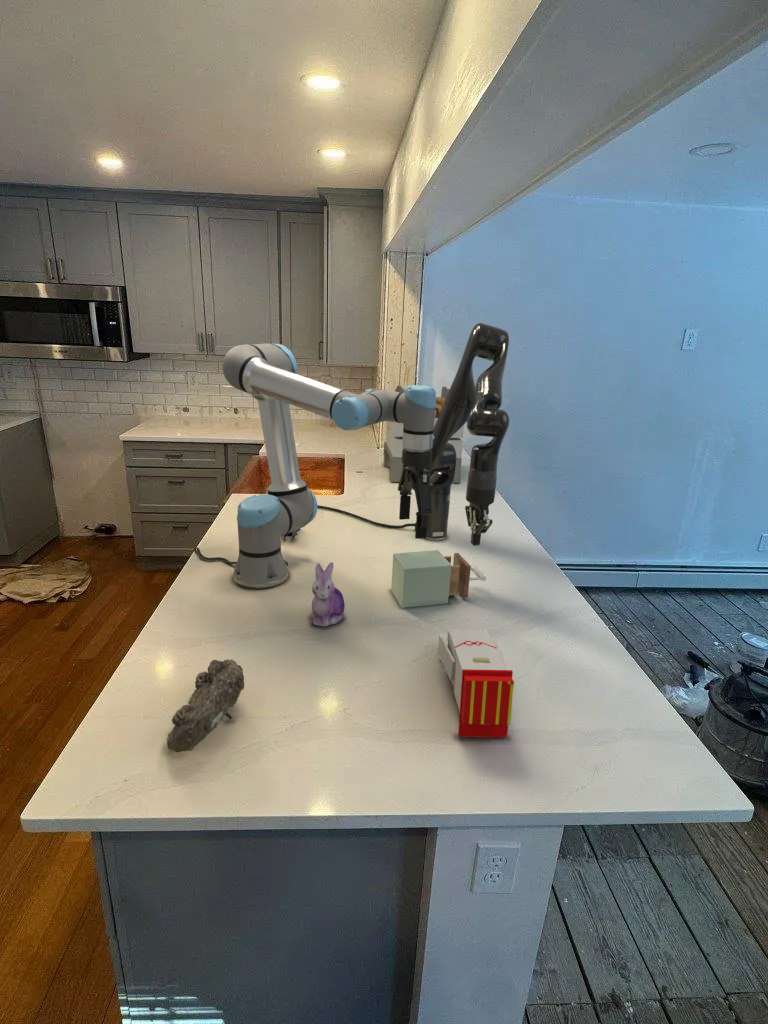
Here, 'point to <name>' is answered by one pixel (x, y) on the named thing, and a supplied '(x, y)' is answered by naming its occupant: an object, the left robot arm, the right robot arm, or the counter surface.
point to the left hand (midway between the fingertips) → (412, 528)
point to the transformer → (396, 436)
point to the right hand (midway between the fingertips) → (475, 544)
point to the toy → (478, 682)
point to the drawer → (462, 575)
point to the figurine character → (291, 534)
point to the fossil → (206, 705)
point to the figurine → (326, 598)
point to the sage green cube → (420, 578)
